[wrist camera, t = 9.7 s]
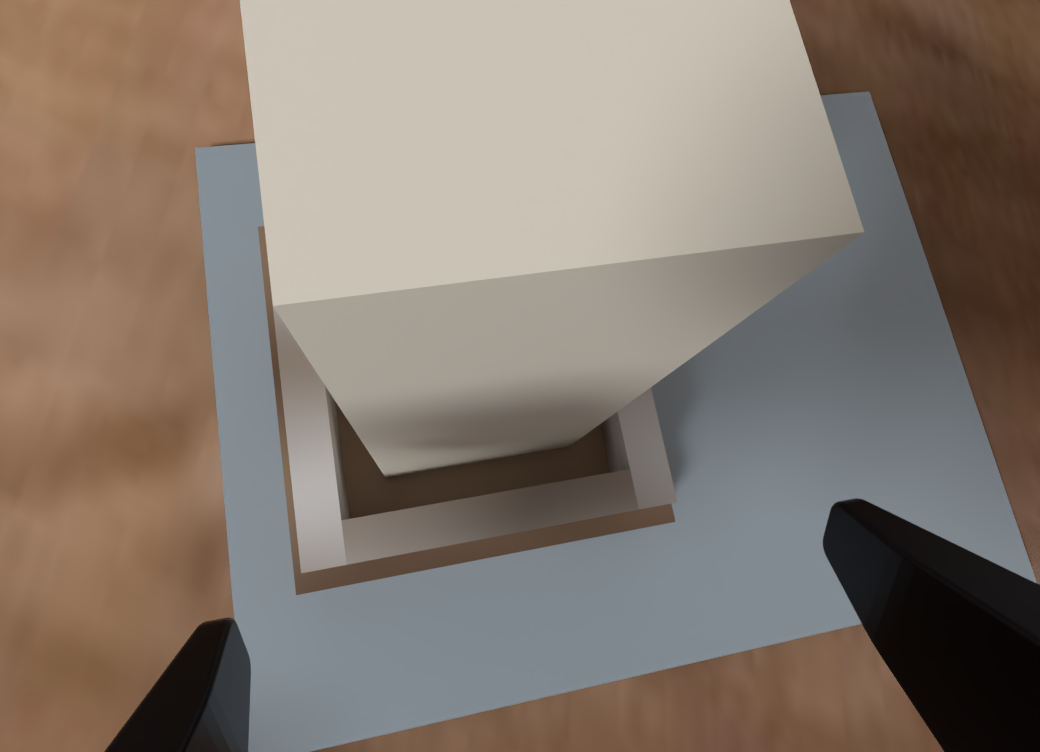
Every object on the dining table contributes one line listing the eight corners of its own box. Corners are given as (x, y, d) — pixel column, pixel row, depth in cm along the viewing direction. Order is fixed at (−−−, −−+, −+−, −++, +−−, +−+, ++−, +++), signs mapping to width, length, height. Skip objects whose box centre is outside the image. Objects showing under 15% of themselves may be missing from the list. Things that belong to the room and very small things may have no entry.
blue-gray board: (1023, 582, 22) (1037, 583, 21) (251, 760, 18) (246, 766, 17) (861, 99, 26) (869, 91, 25) (200, 156, 22) (195, 148, 21)
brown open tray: (652, 524, 20) (700, 519, 17) (310, 590, 18) (280, 601, 15) (585, 221, 22) (615, 158, 19) (273, 256, 21) (239, 194, 17)
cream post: (569, 446, 18) (864, 232, 6) (385, 477, 18) (274, 306, 5) (535, 277, 19) (722, -207, 7) (360, 298, 19) (217, -205, 6)
